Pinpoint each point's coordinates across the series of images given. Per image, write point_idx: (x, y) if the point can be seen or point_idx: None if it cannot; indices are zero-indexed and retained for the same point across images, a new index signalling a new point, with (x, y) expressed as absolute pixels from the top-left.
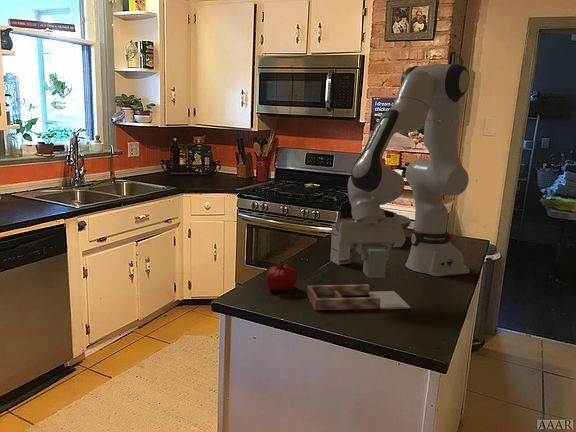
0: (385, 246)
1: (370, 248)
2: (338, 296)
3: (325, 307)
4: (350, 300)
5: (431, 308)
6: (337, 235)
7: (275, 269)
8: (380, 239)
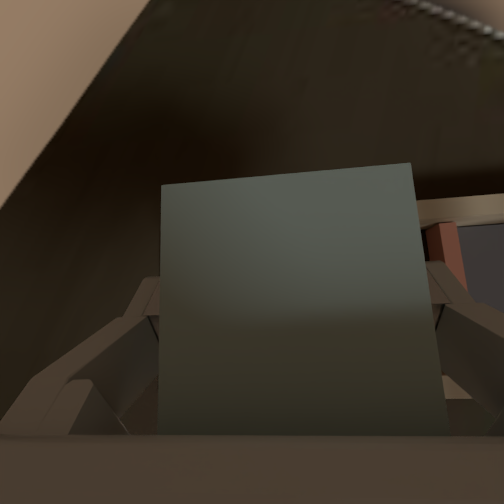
0: (98, 413)
1: (376, 302)
2: (463, 275)
3: None
4: (418, 201)
5: (88, 229)
6: None
7: None
8: (118, 499)
